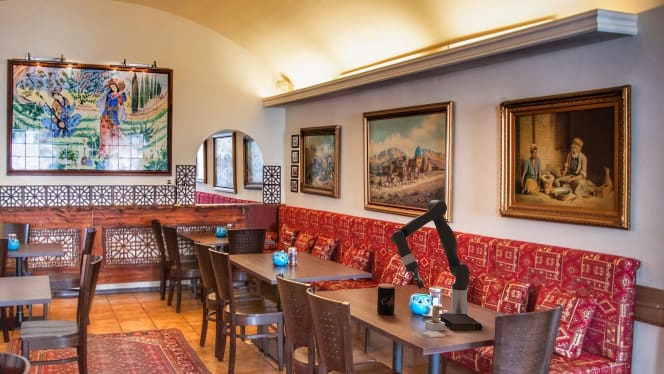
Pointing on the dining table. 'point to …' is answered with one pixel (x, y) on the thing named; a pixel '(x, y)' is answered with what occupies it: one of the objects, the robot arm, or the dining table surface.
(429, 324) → the socket block
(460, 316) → the diary
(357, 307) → the dining table surface
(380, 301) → the coffee jar
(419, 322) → the dining table surface
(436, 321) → the crook peg
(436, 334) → the ceramic pad
